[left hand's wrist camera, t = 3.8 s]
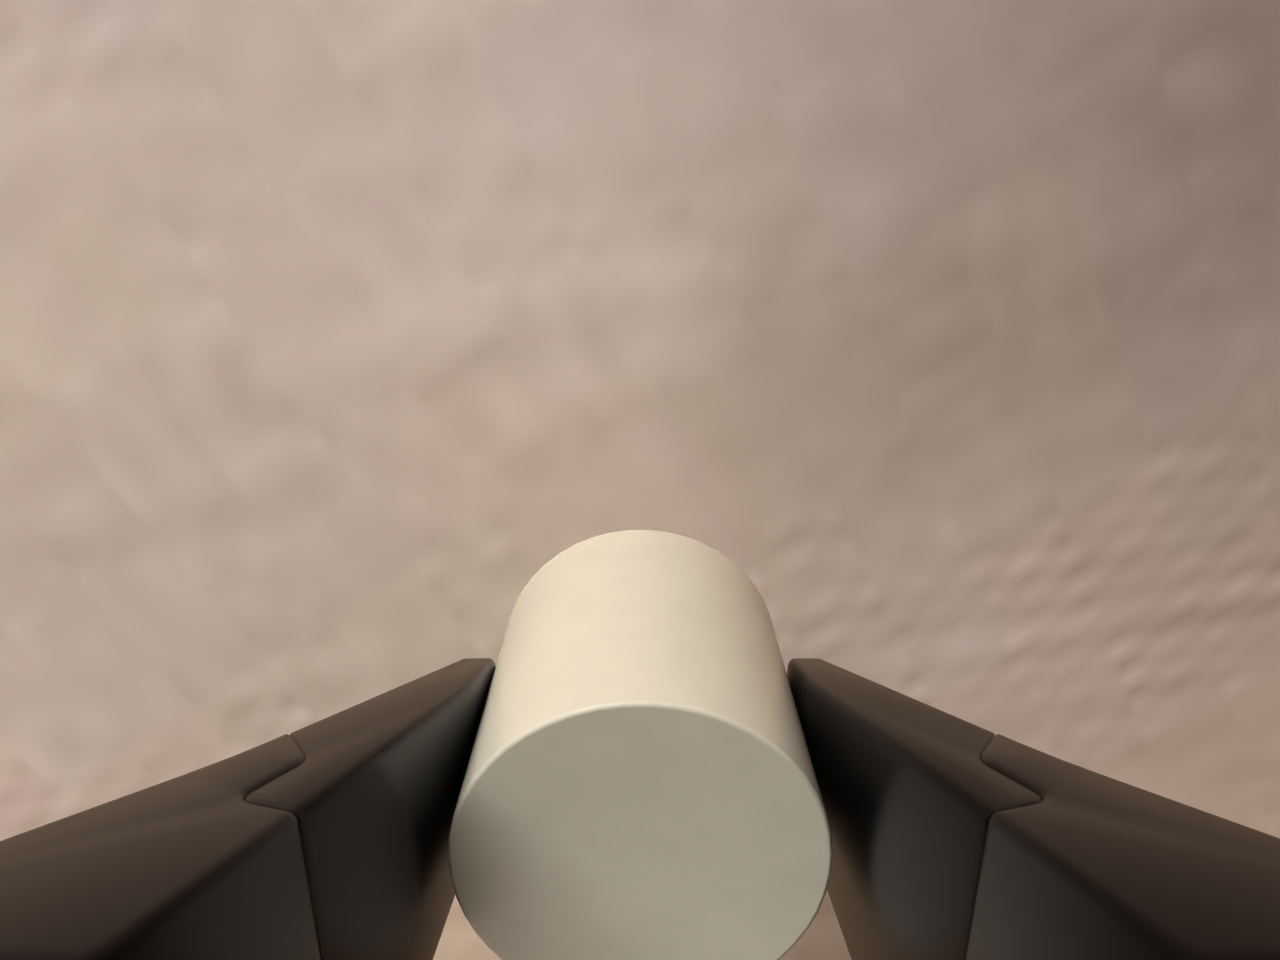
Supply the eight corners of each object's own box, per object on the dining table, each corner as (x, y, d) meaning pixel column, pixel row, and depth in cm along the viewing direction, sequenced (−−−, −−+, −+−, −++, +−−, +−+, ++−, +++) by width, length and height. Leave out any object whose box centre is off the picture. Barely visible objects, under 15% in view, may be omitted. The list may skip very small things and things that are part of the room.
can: (677, 802, 13) (691, 1057, 10) (458, 685, 13) (379, 912, 9) (828, 615, 12) (913, 821, 9) (597, 477, 12) (576, 632, 8)
